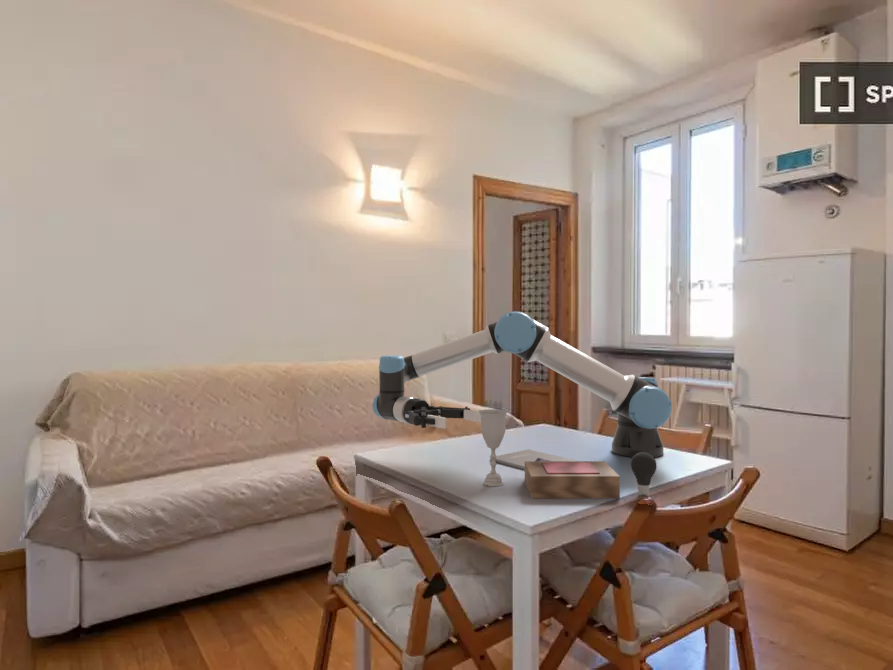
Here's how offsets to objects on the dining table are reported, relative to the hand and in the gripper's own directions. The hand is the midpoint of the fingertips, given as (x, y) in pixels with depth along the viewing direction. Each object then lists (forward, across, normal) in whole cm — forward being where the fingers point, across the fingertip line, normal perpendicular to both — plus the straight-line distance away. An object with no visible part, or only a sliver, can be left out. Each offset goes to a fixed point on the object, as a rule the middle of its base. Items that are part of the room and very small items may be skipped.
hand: (464, 420), depth 147 cm
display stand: (+26, -10, -14) cm, 32 cm away
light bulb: (+41, -17, -14) cm, 47 cm away
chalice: (+10, 0, -15) cm, 18 cm away
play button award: (+4, -24, -15) cm, 29 cm away
